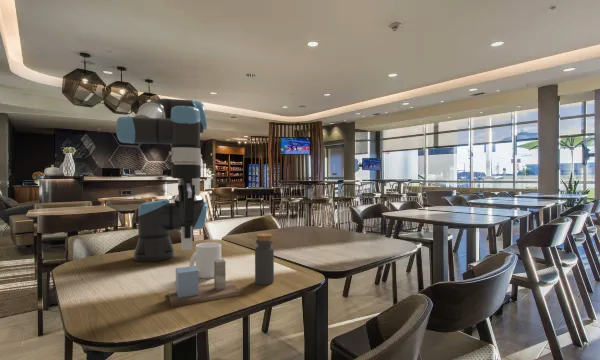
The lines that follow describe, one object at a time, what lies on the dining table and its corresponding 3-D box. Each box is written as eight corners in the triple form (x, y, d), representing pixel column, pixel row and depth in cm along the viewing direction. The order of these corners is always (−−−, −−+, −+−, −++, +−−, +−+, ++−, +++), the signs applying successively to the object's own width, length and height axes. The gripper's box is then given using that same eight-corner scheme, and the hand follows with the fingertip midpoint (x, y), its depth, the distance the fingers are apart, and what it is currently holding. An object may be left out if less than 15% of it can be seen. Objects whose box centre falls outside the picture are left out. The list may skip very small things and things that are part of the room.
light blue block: (176, 291, 89) (175, 268, 89) (195, 288, 92) (195, 265, 92) (178, 298, 85) (178, 273, 85) (198, 294, 87) (198, 270, 87)
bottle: (265, 277, 105) (265, 232, 105) (277, 281, 101) (277, 234, 101) (251, 281, 101) (251, 234, 101) (262, 286, 97) (262, 237, 97)
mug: (198, 284, 99) (198, 250, 99) (181, 279, 104) (180, 247, 104) (226, 273, 110) (226, 243, 110) (209, 270, 114) (209, 241, 114)
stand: (168, 294, 91) (167, 262, 91) (230, 284, 99) (230, 255, 99) (171, 307, 82) (171, 272, 82) (240, 294, 90) (240, 262, 90)
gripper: (169, 163, 92) (170, 245, 93) (174, 163, 80) (175, 256, 81) (196, 164, 95) (196, 242, 96) (204, 163, 84) (205, 253, 85)
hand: (186, 249), depth 89 cm, fingers closed
